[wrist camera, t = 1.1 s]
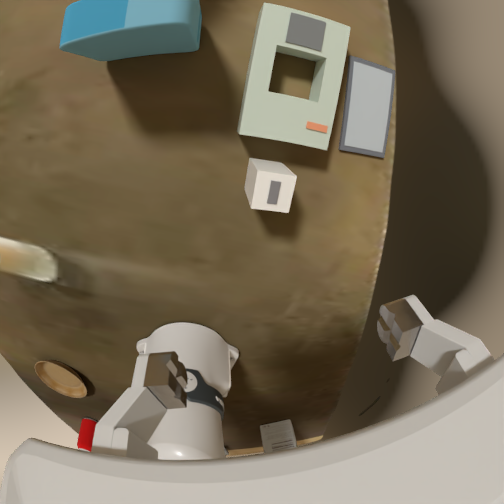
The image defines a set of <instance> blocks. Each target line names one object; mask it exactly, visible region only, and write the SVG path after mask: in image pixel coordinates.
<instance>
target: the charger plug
mask: <svg viewBox="0 0 504 504" xmlns="http://www.w3.org/2000/svg"><path fill="white" fill-rule="evenodd" d="M296 178H297V176H296V175H295V174H294V173H293V172H291V171H290V170H289V169H288V168H287V167H286V166H285V165H284V164H283V163H281V162H275V161H268V160H262V159H255V158H249V164H248V170H247V176H246V182H245V188H244V189H245V192H246V195H247V198H248V201H249V204H250V207H251V209H260V210H268V211H276V212H284V213H289V209H290V205H291V200H292V196H293V192H294V187H295V183H296Z"/></svg>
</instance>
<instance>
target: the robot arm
mask: <svg viewBox="0 0 504 504" xmlns="http://www.w3.org/2000/svg"><path fill="white" fill-rule="evenodd" d="M380 314H381V317H380V318H379V319H378V323H377V329H378V334H379V336H380V338H381V340H382V341H383V342H384V343H386V344H387V351H388V353H389V355H390V357H391V359H392V360H393V361H395V360H398V359H401V358H403V357H406V356H409V355H410V356H411V357H413V358H414V359H416V360H417V361H419V362H420V363H422V364H423V365H425V366H426V367H427V368H429V369H430V370H432V371H433V372H435V373H436V374H438V375H439V376H441V377H442V378H441V379H440V381H439V382H438V384H437V386H436V391H437V392H438V394H439V395H438V396H436V397H435V398H433V399H431V400H429V401H427V402H425V403H423V404H421V405H419V406H417V407H414V408H412V409H410V410H408V411H406V412H404V413H401V414H399V415H397V416H394V417H392V418H390V419H387V420H384V421H382V422H379V423H377V424H374V425H371V426H369V427H366V428H363V429H361V430H357V431H354V432H352V433H348V434H345V435H342V436H338V437H335V438H332V439H328V440H324V441H321V442H317V443H313V444H309V445H305V446H300V447H295V448H291V449H286V450H280V451H275V452H269V453H263V454H256V455H248V456H241V457H230V458H226V457H225V450H224V442H223V433H222V422H221V421H222V420H223V418H224V403H223V397H227V394H228V391H229V390H230V387H231V369H232V367H233V366H234V364H235V362H236V360H237V358H238V356H239V350H238V349H237V348H235V347H233V346H231V345H229V344H227V343H226V342H225V341H224V340H223V338H222V337H221V336H220V335H219V334H218V333H216V332H215V331H213V330H211V329H209V328H207V327H205V326H202V325H198V324H193V323H172V324H168V325H165V326H162V327H160V328H158V329H157V330H155V331H154V332H153V333H152V334H151V335H150V336H149V337H148V338H145V339H143V340H140V341H138V342H137V350H138V352H139V356H138V357H137V361H136V366H135V371H134V375H133V381H132V386H131V388H127V390H126V391H125V392H124V393H123V394H122V395H121V397H120V398H119V399H118V400H117V401H116V402H115V403H114V405H113V406H112V407H111V408H110V409H109V410H108V412H107V413H106V414H105V415H104V416H103V417H102V418H101V420H100V421H99V422H98V423H97V424H96V427H95V432H94V438H93V443H92V449H91V452H88V451H82V450H77V449H73V448H68V447H64V446H60V445H56V444H52V443H48V442H45V441H42V440H38V439H35V438H29V439H27V440H26V441H24V442H23V443H22V444H21V445H20V446H19V447H18V448H17V449H16V450H15V451H14V452H13V453H12V454H11V456H10V457H9V459H8V461H7V464H6V468H5V471H4V476H3V480H2V485H1V490H0V504H504V354H502V355H501V356H500V357H498V358H497V359H496V360H494V358H493V357H492V356H491V354H490V353H489V351H488V350H487V348H486V347H485V345H484V344H483V343H482V341H481V340H480V339H479V338H477V337H474V336H472V335H470V334H468V333H466V332H464V331H461V330H459V329H457V328H455V327H452V326H450V325H448V324H446V323H444V322H442V321H440V320H434V319H433V318H432V317H431V316H430V314H429V313H428V311H427V310H426V309H425V308H424V306H423V305H422V304H421V302H420V301H419V300H418V299H417V297H416V296H414V295H411V296H408V297H405V298H403V299H399V300H396V301H393V302H390V303H387V304H384V305H382V306H381V308H380Z"/></svg>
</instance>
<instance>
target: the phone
mask: <svg viewBox="0 0 504 504" xmlns="http://www.w3.org/2000/svg"><path fill="white" fill-rule="evenodd" d="M394 81H395V70H392V69H390V68H387V67H384V66H381V65H379V64H376V63H373V62H370V61H367V60H364V59H360V58H357V57H354V56H349V64H348V76H347V86H346V96H345V104H344V113H343V121H342V129H341V136H340V143H339V150H344V151H350V152H356V153H361V154H367V155H372V156H377V157H382V158H384V155H385V149H386V144H387V137H388V131H389V124H390V117H391V109H392V101H393V92H394Z"/></svg>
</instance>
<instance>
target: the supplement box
mask: <svg viewBox="0 0 504 504" xmlns="http://www.w3.org/2000/svg"><path fill="white" fill-rule="evenodd" d="M260 431H261V437H262V443H263V449H264V453H269V452H275V451H280V450H286V449H291V448H295V447H298V446H297V442H296V438H295V434H294V430H293V426H292V423H291V420H290V419H288V420H284V421H279V422H275V423H270V424H265V425H260Z"/></svg>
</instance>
